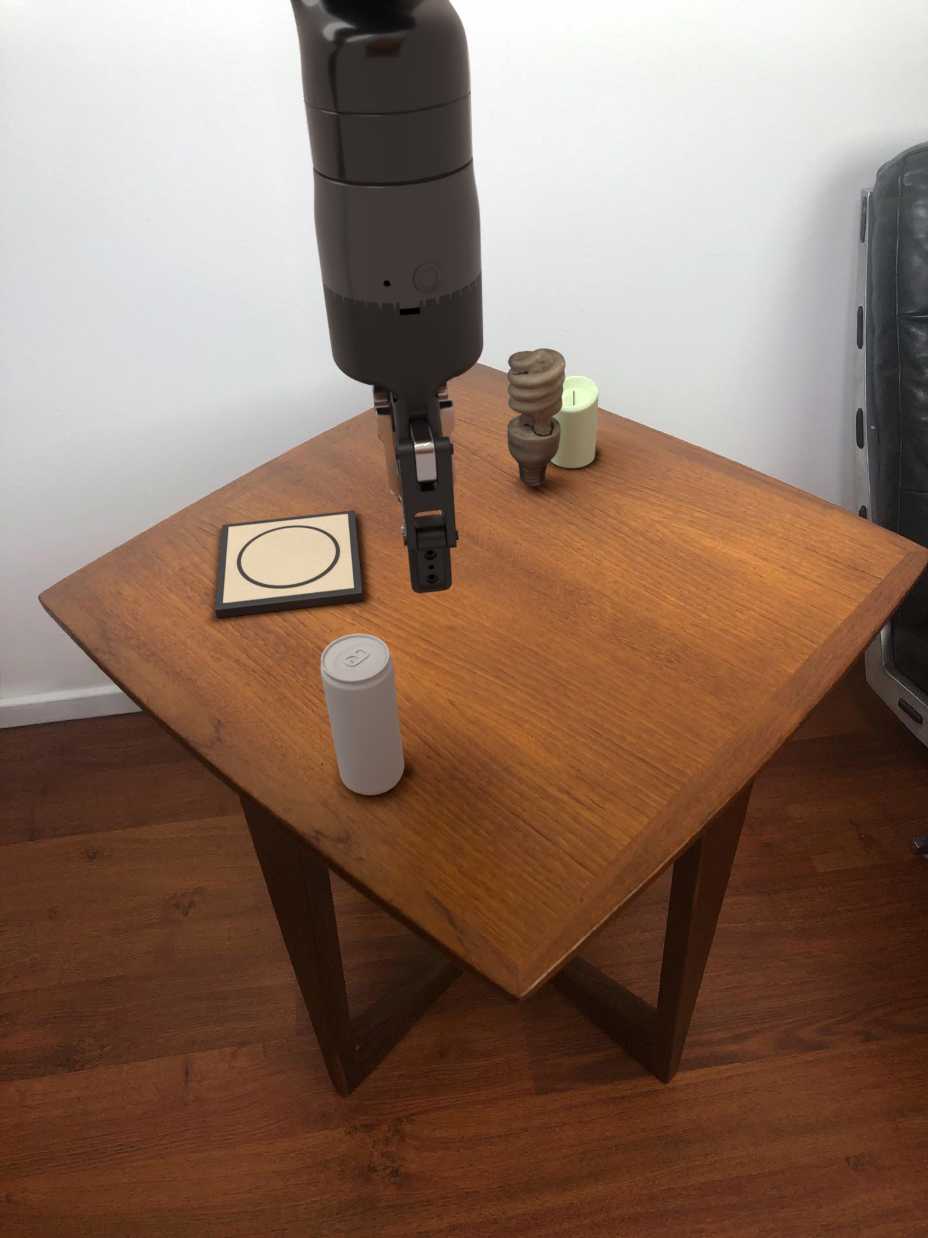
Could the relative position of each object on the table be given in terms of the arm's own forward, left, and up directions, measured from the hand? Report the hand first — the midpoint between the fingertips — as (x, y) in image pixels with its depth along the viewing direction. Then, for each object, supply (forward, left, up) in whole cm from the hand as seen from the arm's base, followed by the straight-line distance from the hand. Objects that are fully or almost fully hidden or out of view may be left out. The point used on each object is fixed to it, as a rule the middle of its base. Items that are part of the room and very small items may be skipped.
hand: (423, 541), depth 56 cm
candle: (+19, +42, -22) cm, 51 cm away
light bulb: (+14, +37, -22) cm, 45 cm away
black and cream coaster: (-11, +28, -22) cm, 38 cm away
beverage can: (-5, +2, -22) cm, 23 cm away
